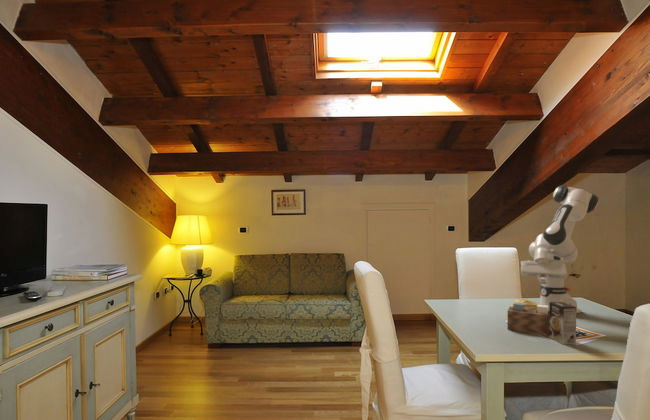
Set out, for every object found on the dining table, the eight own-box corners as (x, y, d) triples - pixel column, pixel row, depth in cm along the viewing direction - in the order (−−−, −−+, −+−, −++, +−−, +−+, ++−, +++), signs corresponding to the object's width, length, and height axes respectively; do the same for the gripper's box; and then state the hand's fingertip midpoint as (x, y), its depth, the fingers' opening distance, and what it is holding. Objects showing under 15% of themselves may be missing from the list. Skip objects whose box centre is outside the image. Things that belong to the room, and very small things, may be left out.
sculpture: (519, 322, 200) (519, 301, 200) (507, 316, 212) (506, 296, 212) (541, 322, 200) (541, 301, 200) (527, 315, 212) (527, 295, 212)
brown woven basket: (507, 329, 189) (507, 310, 189) (509, 324, 197) (509, 306, 197) (553, 335, 179) (553, 316, 179) (553, 330, 188) (553, 311, 188)
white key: (537, 313, 185) (536, 306, 185) (537, 311, 189) (537, 304, 189) (547, 315, 182) (547, 307, 182) (548, 312, 186) (548, 305, 186)
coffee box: (548, 337, 177) (548, 301, 176) (562, 337, 177) (562, 301, 177) (562, 344, 167) (562, 306, 167) (576, 344, 168) (576, 306, 168)
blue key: (513, 311, 190) (513, 303, 190) (514, 309, 194) (514, 301, 194) (523, 312, 188) (523, 304, 188) (524, 310, 191) (524, 303, 191)
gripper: (520, 255, 204) (518, 277, 196) (566, 258, 194) (567, 281, 185) (521, 263, 208) (519, 285, 199) (566, 266, 197) (567, 289, 189)
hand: (543, 283), depth 192 cm, fingers closed
